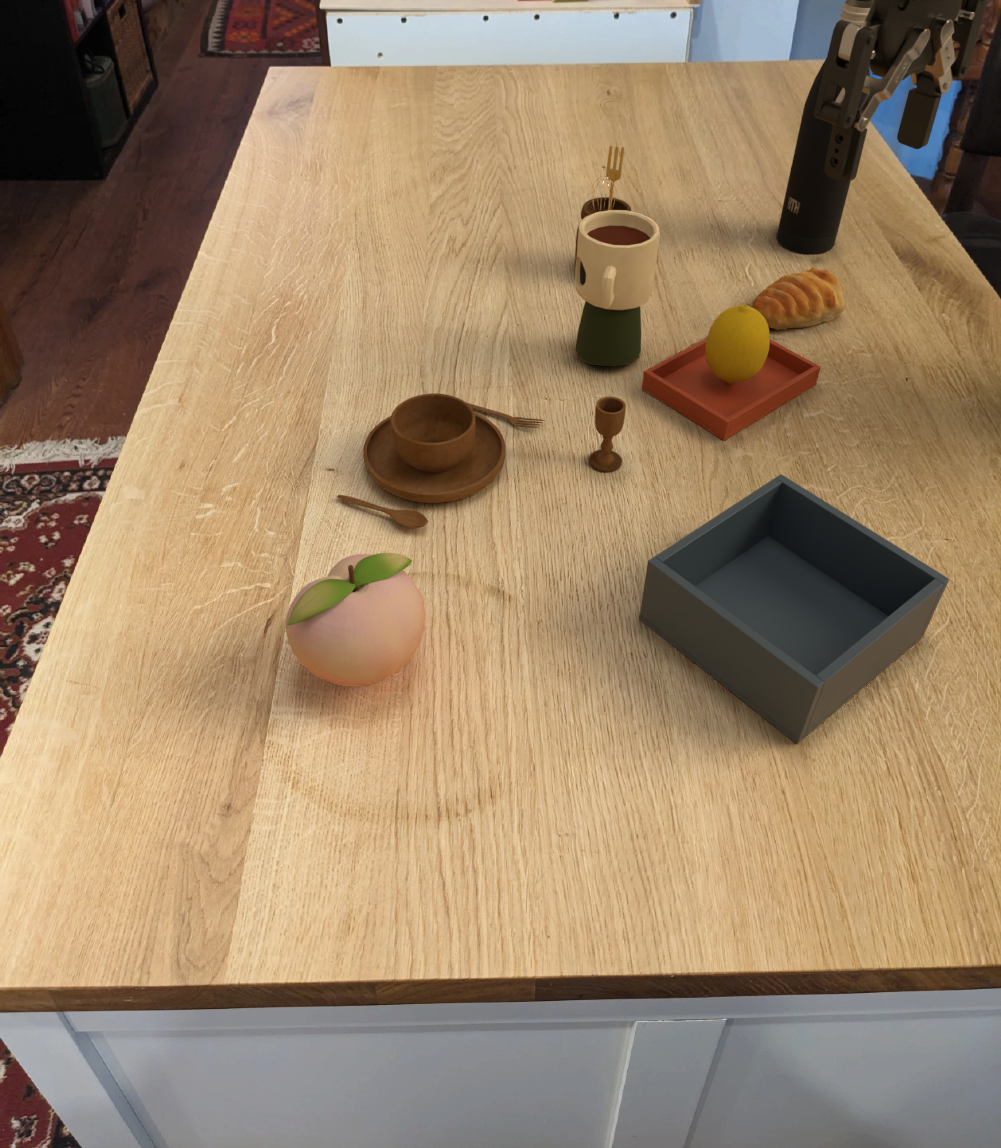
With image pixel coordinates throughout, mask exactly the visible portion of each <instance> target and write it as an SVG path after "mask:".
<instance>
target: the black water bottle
mask: <svg viewBox="0 0 1001 1148" xmlns="http://www.w3.org/2000/svg"><path fill="white" fill-rule="evenodd" d="M872 2H873V0H845V1H844V3H843V5H842V6H841V11H842V13H841V14H839V19H840V20H845V21H848V22H851V23H855V24H858V23H862V22H864V21H865V19H866V17H867V15H868V13H869V10H870V8H871V5H872ZM840 20H838V21H837V22H836V23H835V25H836V24H837V23H838V22H839V21H840ZM826 59H827V57H825V59H824V61H823V62H822V65H821V67H820V68H819V70H818V72H817V74H816V76H815V78H814V79H813V82H812V84H811V87H810V89H809V92H808V94H807V97H806V99H805V102H804V106H803V110H802V115H801V120H800V124H799V128H798V134H797V138H796V144H795V149H794V151H793V152H794V153H793V157H792V162H791V167H790V171H789V176H788V180H787V185H786V190H785V193H784V194H785V195H784V199H783V204H782V209H781V213H780V218H779V223H778V227H777V232H776V240H777V242H778V244H779V245H780V246H782V247H783V248H785V249H787V250H789V251H791V252H794V253H798V254H806V255H818V254H824V253H827V252H829V251H830V250H831V249H833V248H834V246H835V243H836V239H837V236H838V232H839V228H840V224H841V222H842V221H841V220H842V217H843V214H844V213H843V212H844V210H845V206H846V202H847V197H848V193H849V189H850V186H851V183H852V181H849V182H847V183H842V182H840V181H837V180H835V179H833V178H830V177H828V176H827V175H826V174H825V161H826V156H827V152H828V147H829V142H830V138H831V133H832V128H833V126H832V123H829V122H826V121H824V120H821V119H818V118H816V117H815V116H814V110H815V106H816V102H817V97H818V93H819V89H820V85H821V80H822V76H823V72H824V68H825V63H826ZM870 71H871V70H870V67H868V71H867V76H870V77H871V72H870ZM842 88H843V87H841V86H838V85H837V87H836V91H835V95H834V99H833V102H835V101H836V99H837V97H838V95H839V94H840V92H841V90H842ZM867 95H868V94H866V93H864V92H862V94H861V98H860V101H859V105H858V109H860V108H861V106H862V104H863V102H864V101H865V99H866V97H867Z"/></svg>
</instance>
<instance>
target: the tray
mask: <svg viewBox="0 0 1001 1148" xmlns="http://www.w3.org/2000/svg"><path fill="white" fill-rule="evenodd" d="M706 341H707V337H706V338H705V337H704V339H701V340H700V341H698V342H696V343H694V344H692V345H690V346H689V347H686V348H685V349H682V350H681V351H679V352H677V353H675V354H673V355H671V356H670V357H668V358H666V359H664V360H662V361H659V362H658V363H656V364H654V365H653V366H651V367H649V368H646V369H645V370H644V371H643V375H642V382H641V383H642V384H641V390H642V391H644V392H646V393H647V394H649V395H651V396H652V397H654V398H655V399H657V400H658V401H660V402H662V403H663V404H665V405H666V406H667V407H670V408H671V409H673V410H675V411H676V412H678V413H679V414H680V415H683V416H684V417H685V418H688V419H689V420H691V421H692V422H694V423H695V424H697V425H699V426H701V427H702V428H703V429H705V430H706V431H709V432H710V433H711V434H713V435H715V436H716V437H718V438H719V439H721V440H722V441H726V440H727V439H729V438H731V437H732V436H734V435H736V434H737V433H739V432H740V431H742V430H744V429H745V428H747V427H749V426H750V425H752V424H754V423H755V422H758V420H760V419H762V418H764V417H765V416H767V415H768V414H770V413H772V412H774V411H775V410H777V409H779V408H780V407H782V406H783V405H785V404H787V403H788V402H790V401H791V400H793V399H794V398H797V397H798V396H800V395H802V394H804V393H805V392H806V391H809V390H810V389H811V388H814V387H815V386H816V385H817V384H818V379H819V376H820V373H821V368H822V366H821V365H819V364H817V363H815V362H813V361H812V360H810V359H808V358H806V357H804V356H802V355H800V354H798V353H797V352H795V351H793V350H791V349H789V348H788V347H785V345H784V346H783V345H782V344H780V343H778V342H776V341H775V340H772V339H770V345H769V351H768V355H767V358H766V360H765V362H764V364H763V366H762V368H761V369H760V370H759V371H758V372H757V373H756V374H755V375H754V376H753V377H752V378H750V379H748V380H746V381H742V382H736V383H733V384H729V383H727V382H726V381H724V380H722V379H720V378H718V377H717V376H716V375H715V374H714V373H713V372H712V371H711V369H710V367H709V366H708V363H707V359H706V350H705V349H706Z"/></svg>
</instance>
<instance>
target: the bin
mask: <svg viewBox="0 0 1001 1148" xmlns="http://www.w3.org/2000/svg"><path fill="white" fill-rule="evenodd" d="M949 581H950V578H949V577H948V576H945V575H944V574H942V572H941V573H940V572H939V571H937V570H936V569H934V568H933V567H931V566H929V565H927V564H926V563H925V562H923V561H922V560H920V559H918V558H917V557H915V556H913V555H912V554H910V553H908V552H907V551H905V550H903V549H902V548H901V547H899V546H897V545H896V544H894V543H893V542H891V541H889V540H887V538H884V537H883V536H881V535H880V534H878V533H876V532H875V531H873V530H872V529H871V528H868V527H867V526H865V525H864V524H862V523H860V522H858V521H857V520H856V519H854V518H852V517H851V516H850V515H848V514H846V513H844V512H843V511H841V510H840V509H838V508H836V507H835V506H833V505H832V504H830V503H828V502H827V501H825V500H824V499H823V498H820V497H819V496H817V495H815V494H814V493H812V492H811V491H809V490H808V489H806V488H804V487H803V486H801V485H800V484H798V483H796V482H795V481H793V480H792V479H790V478H789V477H786V476H785V475H783V474H782V473H780V474H778V475H777V476H776V477H774V478H773V479H771V480H769V481H768V482H766V483H764V484H763V485H761V486H760V487H759V488H757V489H756V490H754V491H753V492H751V493H749V494H748V495H746V496H745V497H744V498H742V499H740V500H739V501H737V502H736V503H734V504H732V505H731V506H730V507H728V508H726V509H725V510H723V511H722V512H720V513H719V514H717V515H716V516H714V517H713V518H711V519H710V520H708V521H707V522H705V523H704V524H702V525H700V526H699V527H697V528H696V529H695V530H693V531H691V532H690V533H688V534H687V535H685V536H683V537H682V538H681V539H679V540H678V541H676V542H674V543H673V544H671V545H670V546H669V547H667V548H665V549H664V550H662V551H660V552H659V553H658V554H656V555H655V556H653V557H652V558H649V560H647V564H646V571H645V577H644V583H643V584H644V585H643V590H642V597H641V603H640V609H639V617H638V619H639V620H640V621H641V622H642V623H644V624H645V625H646V626H647V627H649V628H650V629H651V630H652V631H654V632H655V634H658V636H660V637H661V638H662V639H664V640H665V641H666V642H667V643H669V644H670V645H671V646H672V647H674V648H675V649H676V650H678V651H679V652H680V653H681V654H682V655H684V657H686V658H688V659H689V660H690V661H691V662H693V663H694V664H695V665H697V667H699V668H700V669H702V670H703V671H704V672H705V673H706V674H708V675H709V676H710V677H712V678H713V679H714V680H715V681H717V682H718V683H719V684H720V685H721V686H723V687H724V688H726V689H727V690H728V691H729V692H730V693H732V695H734V696H735V697H737V698H738V699H739V700H740V701H742V702H743V703H744V704H745V705H747V706H748V707H749V708H751V709H752V710H753V711H754V712H756V713H757V714H758V715H760V716H761V717H762V718H763V719H765V720H766V721H767V722H768V723H769V724H771V725H772V726H773V727H774V728H776V729H777V730H778V731H780V732H781V733H782V734H783V735H785V736H786V737H787V738H788V739H790V740H791V741H792V742H794V743H795V745H798V744H799V743H800V742H802V741H803V740H804V739H805V738H807V736H809V735H810V734H811V733H812V732H813V731H814V730H816V729H817V728H818V727H819V726H820V725H822V724H823V723H824V722H825V721H826V720H827V719H829V718H830V717H831V716H832V715H833V714H835V713H836V712H837V711H838V710H839V709H841V708H842V707H843V706H844V705H846V703H848V702H849V701H850V700H851V699H852V698H853V697H855V696H856V695H857V694H858V693H859V692H860V691H861V690H863V689H864V688H865V687H866V686H867V685H869V684H870V683H871V682H872V681H874V679H875V678H877V677H878V676H879V675H881V673H883V672H884V671H885V670H886V669H887V668H889V667H890V666H891V665H892V664H893V663H894V662H895V661H897V660H898V659H899V658H901V656H902V655H904V654H905V653H906V652H908V651H909V649H911V648H912V647H914V645H916V643H918V642H919V641H920V640H921V639H923V638H924V635H925V633H926V632H927V630H928V628H929V627H928V626H929V625H930V623H931V620H932V619H933V616H934V614H935V612H936V610H937V608H938V606H939V603H940V601H941V599H942V597H943V594H944V593H945V591H946V588H947V586H948V584H949Z"/></svg>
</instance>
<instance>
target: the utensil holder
mask: <svg viewBox="0 0 1001 1148" xmlns="http://www.w3.org/2000/svg"><path fill="white" fill-rule="evenodd" d="M612 153H613V145H609V148H608V155H607V163H606V171H605V176H604V177H603V176H599V178H597V179H596V181H594V182H593V183H592V187H591V188H592V189H591V193H595V191H596V189H598V188H599V183H600V182H601V181H602V180H603V181H602V185H601V188H603V186H604V181H605V183H606V185H607V186H608V191H609V194H608V195H609V196H607V191H605V195H604V196H602V195H603V190H600V191H601V192H600V197H598V196H596V197H593V198H590V199H588V200H587V201H585V202H584V203H583V204H582V208H581V210H580V211H581V212H580V219H581V220H580V221H579V223H578V226H577V229H576V235H575V248H574V266H575V267H574V268H575V269H576V259H577V245H578V231H579V224H580V222H581V221H582V220H583V219H584V218H585V217H586V216H589V215H591V214H594V213H596V212H602V211H608V210H626V211H631V212H632V207H631V206H630V204H629V203H628V202H626V201H625V200H623V199H619V198H616V197H614V190H615V189H616V187H615V182H617V181H619V180H620V179H621V178H622V171H623V163H624V162H623V161H624V155H625V147H624V146H622V147H621V148H620V154H619V146H615V148H614V155H613V154H612ZM618 154H619V155H620V156H619V163H618V169H617V162H618ZM612 155H613V164H612V169H611V163H612ZM607 180H608V181H609V182H610V185H609V183H608V181H607ZM595 183H596V185H595ZM594 185H595V187H594Z"/></svg>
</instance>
